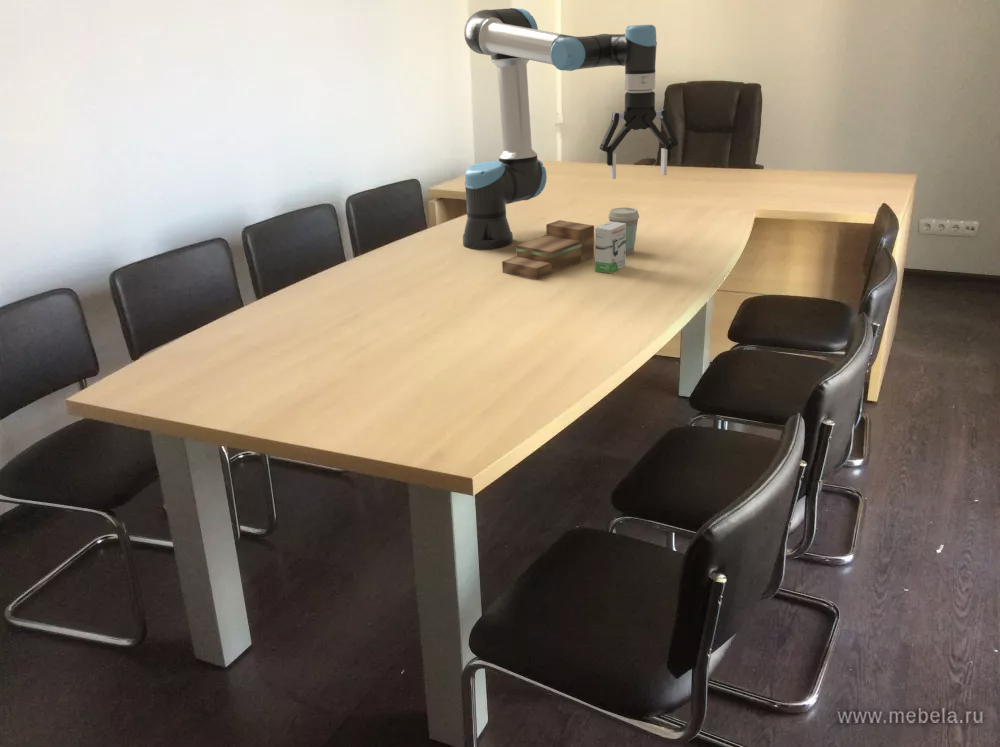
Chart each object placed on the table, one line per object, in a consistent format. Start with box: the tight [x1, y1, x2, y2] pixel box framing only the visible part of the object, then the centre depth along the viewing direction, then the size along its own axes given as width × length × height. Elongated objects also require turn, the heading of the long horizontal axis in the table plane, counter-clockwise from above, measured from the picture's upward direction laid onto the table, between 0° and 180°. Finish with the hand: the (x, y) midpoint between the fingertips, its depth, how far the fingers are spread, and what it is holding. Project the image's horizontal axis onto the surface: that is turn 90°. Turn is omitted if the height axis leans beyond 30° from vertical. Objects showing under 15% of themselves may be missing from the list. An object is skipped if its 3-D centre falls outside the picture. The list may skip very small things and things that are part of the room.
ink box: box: [594, 220, 627, 274], centre depth 222 cm, size 9×5×12 cm, turn 143°
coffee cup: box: [608, 207, 640, 256], centre depth 236 cm, size 9×9×12 cm
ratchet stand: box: [501, 220, 595, 280], centre depth 228 cm, size 12×25×9 cm, turn 138°
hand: (638, 176), depth 220 cm, fingers open, 13 cm apart
